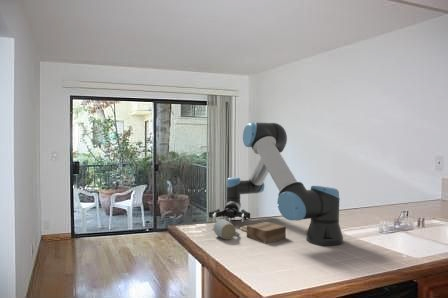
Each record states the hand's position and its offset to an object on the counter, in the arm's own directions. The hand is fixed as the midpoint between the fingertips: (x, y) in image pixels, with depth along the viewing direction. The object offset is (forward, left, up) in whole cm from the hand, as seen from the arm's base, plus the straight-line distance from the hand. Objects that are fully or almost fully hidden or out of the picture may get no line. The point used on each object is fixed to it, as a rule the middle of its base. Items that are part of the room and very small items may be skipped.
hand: (227, 218), depth 169 cm
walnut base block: (-18, -7, -6) cm, 20 cm away
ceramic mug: (-7, +6, -6) cm, 11 cm away
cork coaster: (-3, -11, -6) cm, 13 cm away
